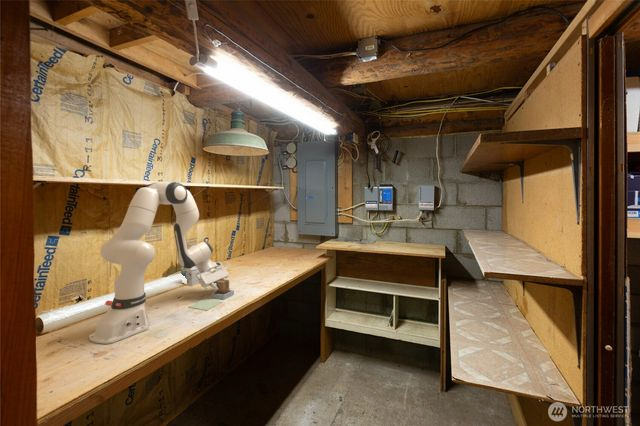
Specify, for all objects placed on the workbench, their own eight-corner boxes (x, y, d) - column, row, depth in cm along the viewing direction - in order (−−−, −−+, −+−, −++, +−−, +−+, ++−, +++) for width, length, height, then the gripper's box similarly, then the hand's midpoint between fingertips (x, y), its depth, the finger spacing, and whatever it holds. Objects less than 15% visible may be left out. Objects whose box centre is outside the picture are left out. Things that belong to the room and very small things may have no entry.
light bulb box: (180, 283, 196) (180, 267, 195) (189, 281, 202) (189, 265, 201) (192, 286, 191) (191, 269, 190) (200, 283, 197) (200, 267, 196)
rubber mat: (206, 310, 152) (206, 309, 152) (188, 307, 156) (188, 306, 156) (222, 302, 163) (222, 301, 163) (204, 299, 167) (204, 298, 167)
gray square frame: (224, 299, 167) (224, 295, 167) (211, 297, 170) (211, 293, 170) (234, 294, 175) (233, 290, 175) (221, 292, 178) (221, 288, 178)
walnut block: (223, 298, 169) (223, 282, 169) (216, 297, 171) (216, 281, 171) (229, 295, 174) (229, 280, 173) (222, 294, 176) (221, 279, 175)
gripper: (197, 270, 165) (212, 289, 162) (222, 261, 184) (236, 279, 181) (191, 277, 166) (206, 296, 164) (216, 268, 185) (230, 285, 183)
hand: (222, 287), depth 172 cm, fingers open, 6 cm apart
